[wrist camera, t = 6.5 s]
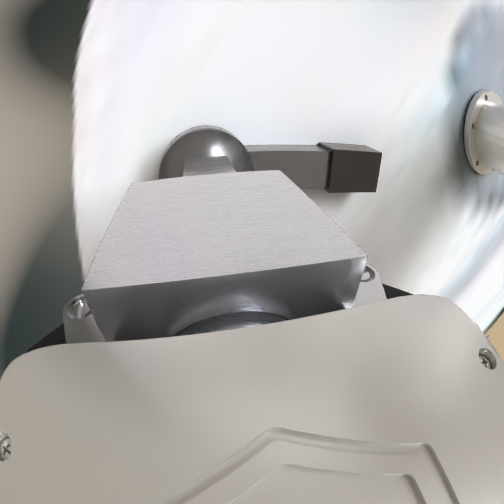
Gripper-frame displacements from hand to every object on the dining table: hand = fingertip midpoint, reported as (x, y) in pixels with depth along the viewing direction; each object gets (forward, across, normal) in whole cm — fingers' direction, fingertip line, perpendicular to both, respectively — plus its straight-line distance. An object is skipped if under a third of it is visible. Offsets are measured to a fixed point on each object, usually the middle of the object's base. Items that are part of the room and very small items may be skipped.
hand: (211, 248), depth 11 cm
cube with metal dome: (+1, 0, 0) cm, 1 cm away
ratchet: (+13, -6, 0) cm, 14 cm away
